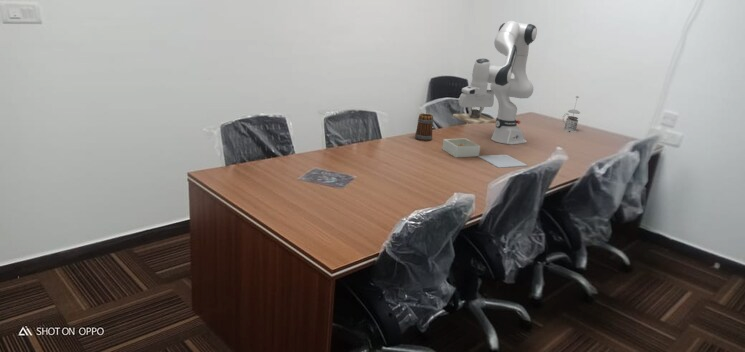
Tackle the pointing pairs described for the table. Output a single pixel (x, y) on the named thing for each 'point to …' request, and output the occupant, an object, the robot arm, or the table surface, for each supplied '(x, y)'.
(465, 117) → the lid
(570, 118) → the french press
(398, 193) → the table surface
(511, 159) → the mat
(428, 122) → the mug
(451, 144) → the pale green open box
